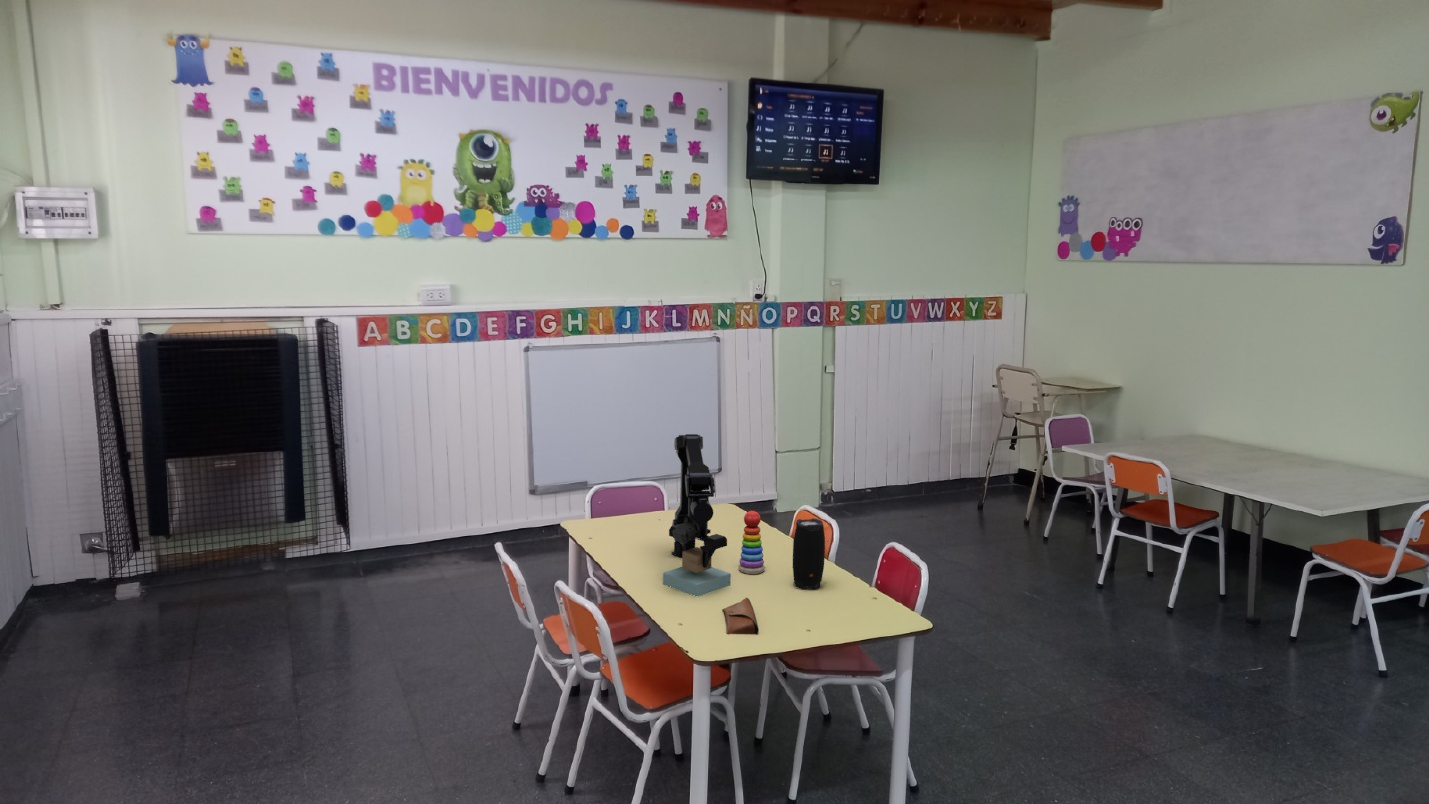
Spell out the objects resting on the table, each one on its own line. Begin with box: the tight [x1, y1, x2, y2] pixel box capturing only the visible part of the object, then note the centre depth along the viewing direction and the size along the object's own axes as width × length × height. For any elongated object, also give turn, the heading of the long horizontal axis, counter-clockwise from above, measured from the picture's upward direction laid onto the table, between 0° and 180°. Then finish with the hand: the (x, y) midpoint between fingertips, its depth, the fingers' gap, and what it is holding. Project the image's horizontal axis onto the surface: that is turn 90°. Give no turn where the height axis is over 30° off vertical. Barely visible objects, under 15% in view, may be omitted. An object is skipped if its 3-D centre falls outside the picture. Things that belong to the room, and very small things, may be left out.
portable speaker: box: [792, 518, 826, 590], centre depth 278 cm, size 9×9×20 cm
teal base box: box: [662, 566, 732, 597], centre depth 278 cm, size 14×14×4 cm
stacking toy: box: [738, 510, 766, 575], centre depth 290 cm, size 8×8×19 cm
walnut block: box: [681, 546, 712, 573], centre depth 277 cm, size 6×6×5 cm
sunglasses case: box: [721, 597, 760, 635], centre depth 251 cm, size 18×7×7 cm
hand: (697, 564), depth 277 cm, fingers closed on walnut block, 6 cm apart
